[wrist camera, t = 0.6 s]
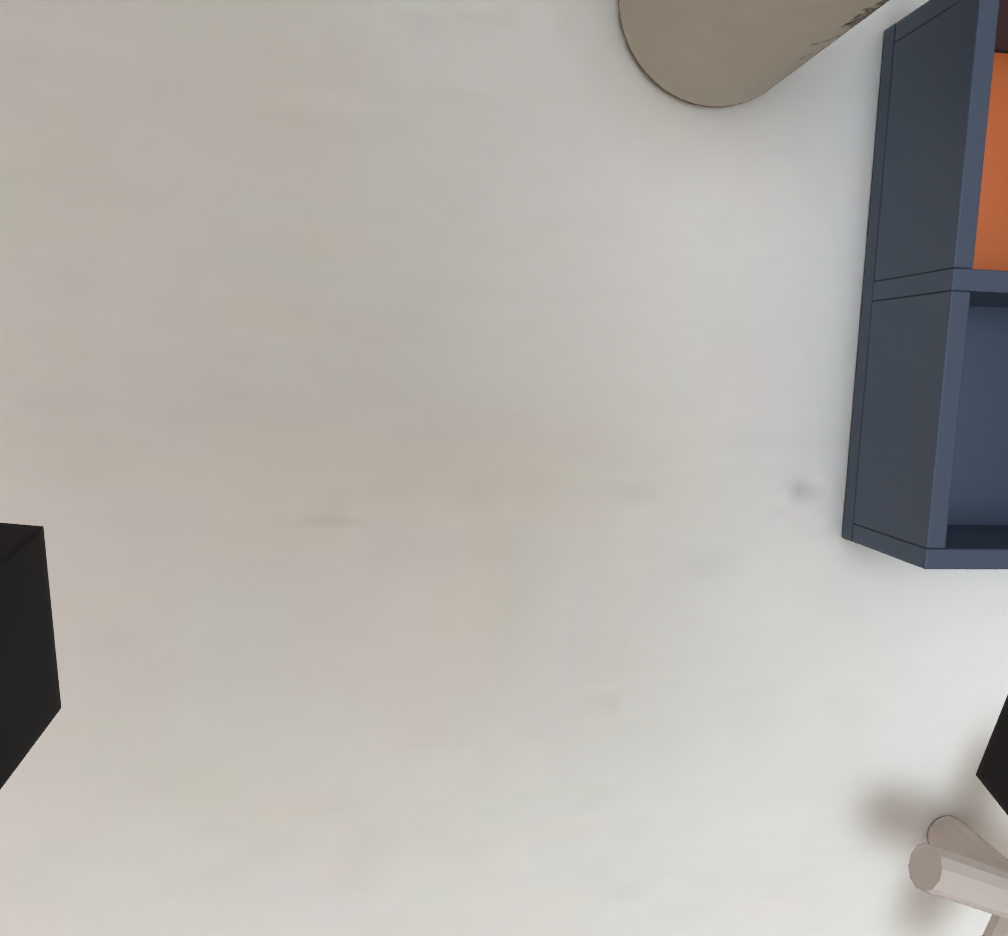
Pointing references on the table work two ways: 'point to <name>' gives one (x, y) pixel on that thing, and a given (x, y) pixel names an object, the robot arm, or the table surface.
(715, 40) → the travel mug
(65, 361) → the table surface
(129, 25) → the table surface
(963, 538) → the divided storage bin
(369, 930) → the table surface
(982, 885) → the pipe connector
